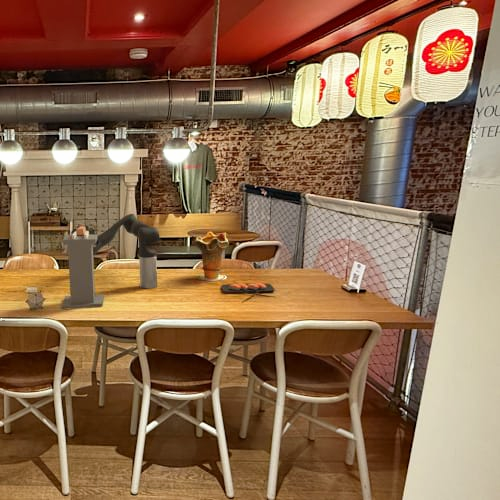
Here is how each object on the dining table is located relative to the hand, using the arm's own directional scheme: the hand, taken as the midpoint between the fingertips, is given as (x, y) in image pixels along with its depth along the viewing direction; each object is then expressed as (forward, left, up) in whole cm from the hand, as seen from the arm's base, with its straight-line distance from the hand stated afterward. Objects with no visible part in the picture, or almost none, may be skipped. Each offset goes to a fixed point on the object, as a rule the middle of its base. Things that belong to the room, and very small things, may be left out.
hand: (82, 227), depth 215 cm
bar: (0, +6, -2) cm, 7 cm away
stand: (-1, +21, -34) cm, 40 cm away
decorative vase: (-72, -14, -34) cm, 81 cm away
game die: (+19, +27, -34) cm, 48 cm away
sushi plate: (-85, +24, -35) cm, 95 cm away
